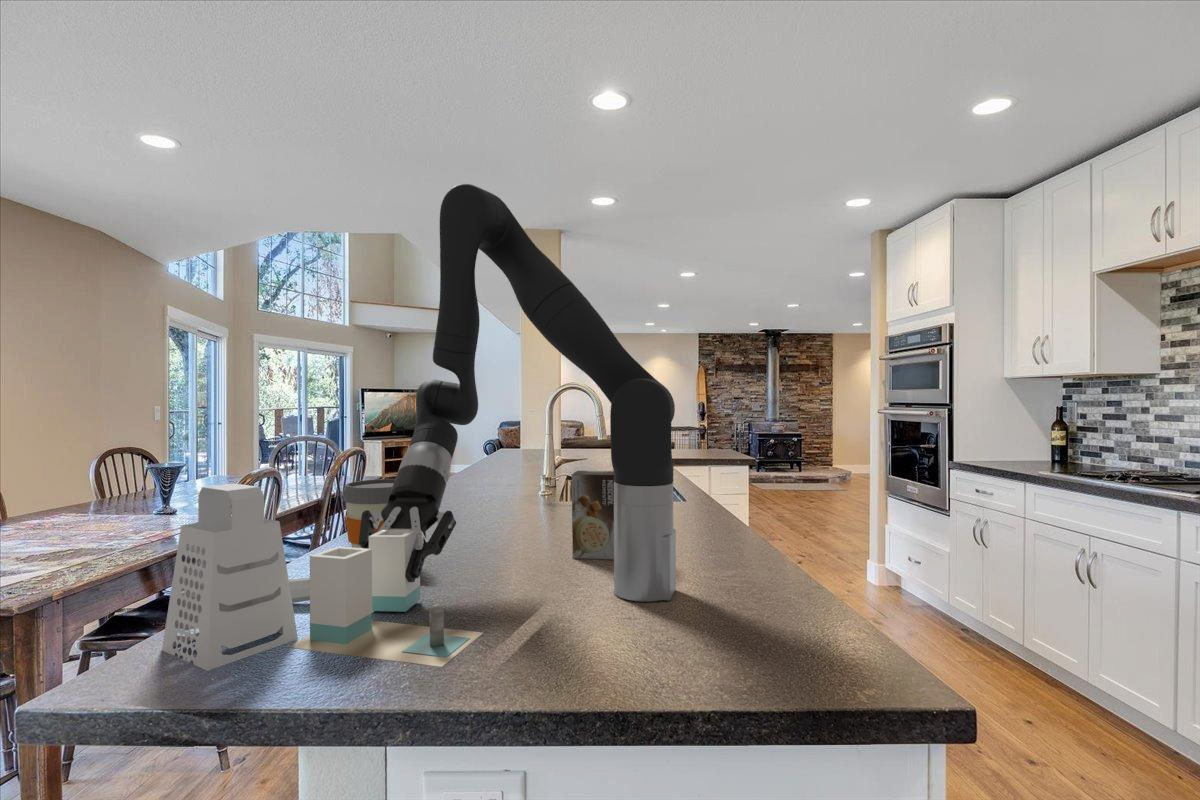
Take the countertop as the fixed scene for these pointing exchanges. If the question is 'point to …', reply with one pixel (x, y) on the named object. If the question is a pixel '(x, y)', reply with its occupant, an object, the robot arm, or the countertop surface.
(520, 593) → the countertop surface
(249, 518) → the grater
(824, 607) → the countertop surface
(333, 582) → the seated sleeve
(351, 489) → the reusable coffee cup
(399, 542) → the sleeve
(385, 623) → the pin board
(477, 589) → the countertop surface
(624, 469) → the robot arm
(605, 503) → the coffee box
